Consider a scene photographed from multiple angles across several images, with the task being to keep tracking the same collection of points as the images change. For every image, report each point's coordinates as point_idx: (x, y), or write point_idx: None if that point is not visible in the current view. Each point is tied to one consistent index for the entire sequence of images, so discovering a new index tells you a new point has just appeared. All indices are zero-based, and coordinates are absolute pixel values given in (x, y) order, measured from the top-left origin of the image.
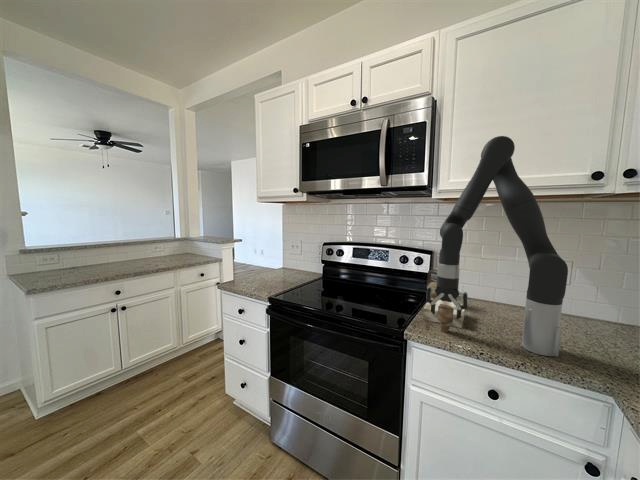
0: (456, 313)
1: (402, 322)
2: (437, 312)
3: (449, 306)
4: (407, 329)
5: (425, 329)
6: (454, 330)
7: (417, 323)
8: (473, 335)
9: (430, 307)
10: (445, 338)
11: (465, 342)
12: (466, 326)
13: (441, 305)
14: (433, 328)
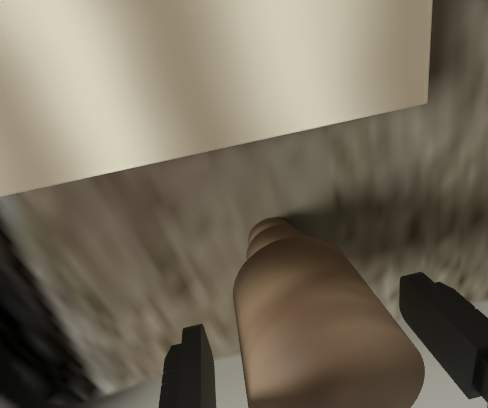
0: (359, 65)
1: (2, 317)
2: (163, 156)
3: (367, 330)
4: (99, 369)
5: (173, 299)
6: (322, 179)
7: (81, 258)
8: (436, 164)
9: (22, 91)
10: None
11: (397, 285)
12: None
13: (270, 370)
14: (203, 252)
